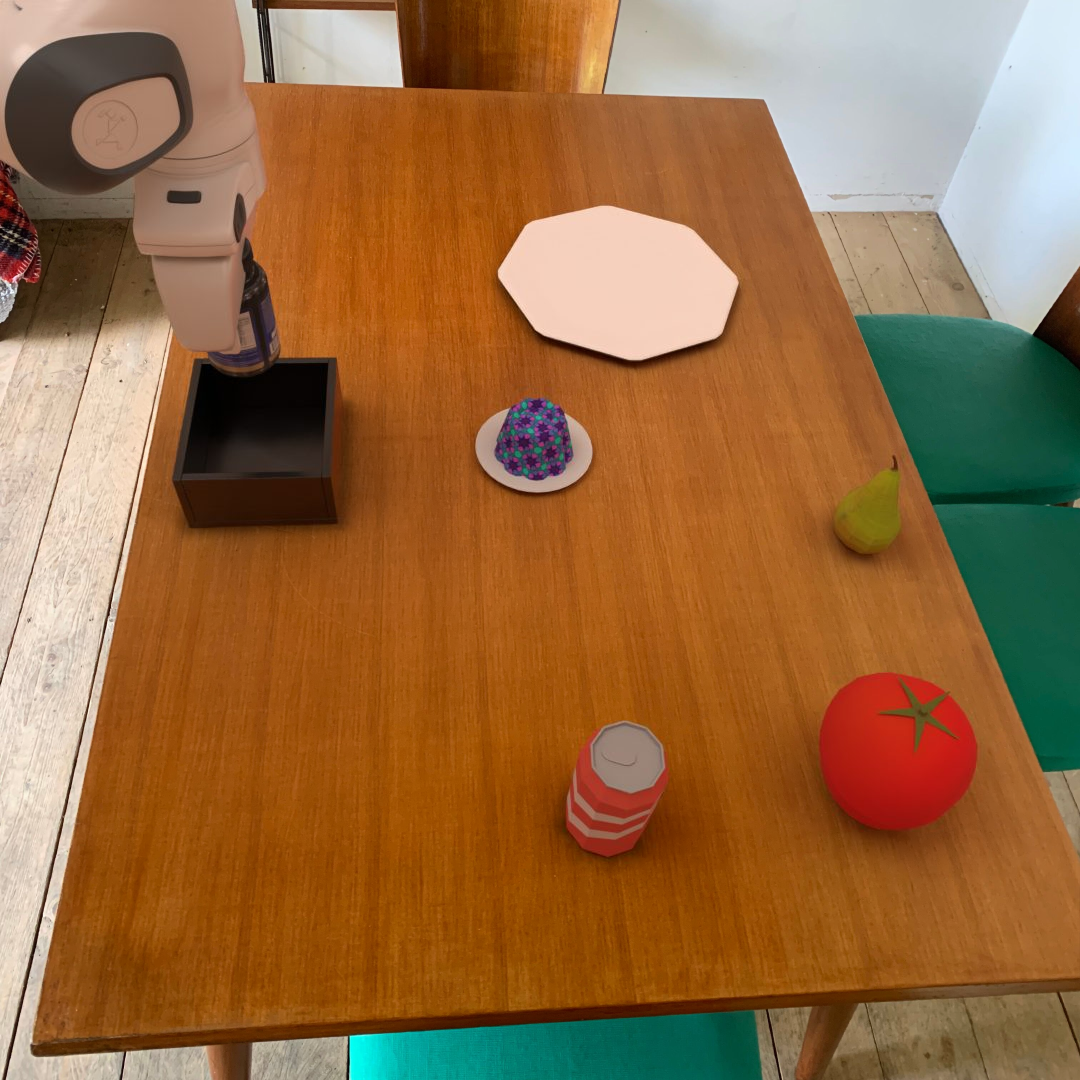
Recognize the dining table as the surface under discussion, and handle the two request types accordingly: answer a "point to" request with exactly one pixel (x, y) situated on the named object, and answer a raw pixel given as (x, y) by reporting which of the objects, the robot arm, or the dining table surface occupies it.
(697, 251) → the plate
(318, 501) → the open box
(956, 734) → the tomato
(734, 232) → the dining table surface
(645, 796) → the beverage can
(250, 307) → the pill bottle
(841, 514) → the fruit
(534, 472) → the pudding
